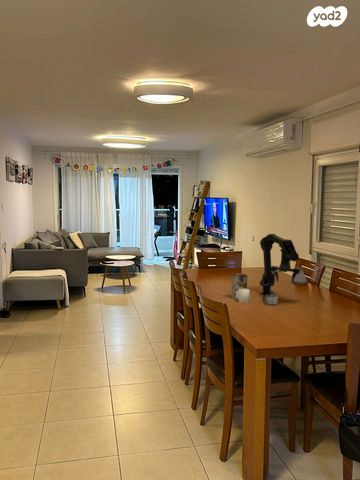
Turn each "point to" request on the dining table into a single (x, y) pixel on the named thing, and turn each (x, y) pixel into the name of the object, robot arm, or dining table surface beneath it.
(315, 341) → the dining table surface
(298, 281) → the coffee pot
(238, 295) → the mug
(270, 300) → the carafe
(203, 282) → the dining table surface
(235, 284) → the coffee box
